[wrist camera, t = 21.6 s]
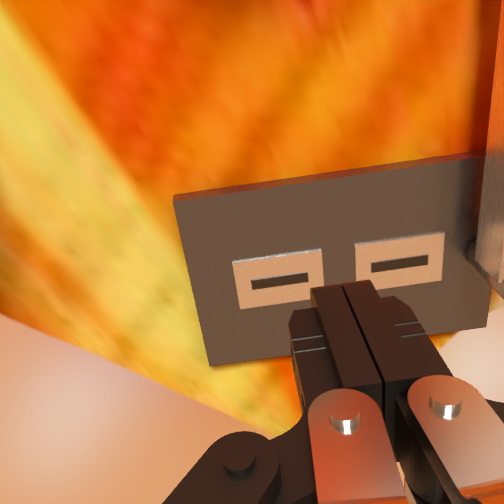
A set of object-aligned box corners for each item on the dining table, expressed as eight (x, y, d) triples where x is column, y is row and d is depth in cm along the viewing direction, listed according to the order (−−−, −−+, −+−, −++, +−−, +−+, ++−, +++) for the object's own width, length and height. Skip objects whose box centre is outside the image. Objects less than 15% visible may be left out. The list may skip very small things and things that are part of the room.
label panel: (209, 356, 50) (209, 368, 48) (174, 194, 41) (172, 202, 40) (479, 318, 50) (487, 328, 48) (499, 147, 41) (510, 154, 39)
